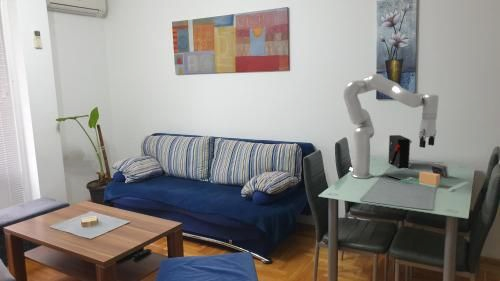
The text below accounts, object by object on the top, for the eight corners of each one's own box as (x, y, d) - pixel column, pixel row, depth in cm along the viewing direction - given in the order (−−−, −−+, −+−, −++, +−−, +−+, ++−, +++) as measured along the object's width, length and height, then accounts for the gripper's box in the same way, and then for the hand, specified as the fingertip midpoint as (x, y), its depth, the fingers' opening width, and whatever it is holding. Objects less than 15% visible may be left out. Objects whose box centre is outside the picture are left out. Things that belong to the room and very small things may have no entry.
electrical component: (411, 168, 263) (412, 139, 259) (396, 168, 263) (397, 139, 260) (401, 162, 280) (403, 135, 277) (387, 162, 280) (388, 135, 277)
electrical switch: (449, 179, 234) (449, 164, 233) (442, 181, 233) (442, 166, 231) (437, 176, 243) (437, 161, 241) (430, 177, 242) (430, 163, 240)
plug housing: (418, 182, 222) (419, 172, 221) (422, 180, 225) (423, 171, 224) (435, 185, 215) (436, 175, 214) (439, 183, 217) (440, 174, 216)
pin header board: (398, 183, 230) (399, 173, 229) (410, 178, 238) (411, 169, 238) (436, 191, 213) (436, 181, 212) (447, 185, 222) (448, 176, 221)
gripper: (430, 114, 228) (427, 143, 231) (414, 116, 218) (412, 147, 221) (443, 116, 222) (440, 145, 226) (428, 118, 212) (425, 149, 215)
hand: (426, 146), depth 223 cm, fingers open, 9 cm apart
